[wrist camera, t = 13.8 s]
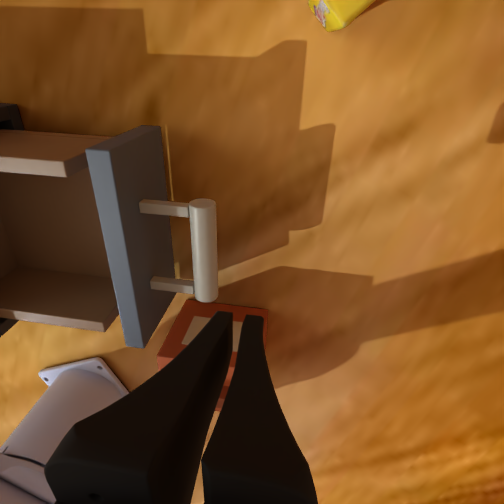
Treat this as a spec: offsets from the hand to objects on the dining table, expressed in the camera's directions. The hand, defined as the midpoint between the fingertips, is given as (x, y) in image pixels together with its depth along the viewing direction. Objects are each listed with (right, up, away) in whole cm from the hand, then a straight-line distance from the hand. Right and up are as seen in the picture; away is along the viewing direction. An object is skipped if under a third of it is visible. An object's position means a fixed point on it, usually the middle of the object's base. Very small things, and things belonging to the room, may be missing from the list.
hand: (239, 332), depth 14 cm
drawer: (-9, +6, +9) cm, 14 cm away
